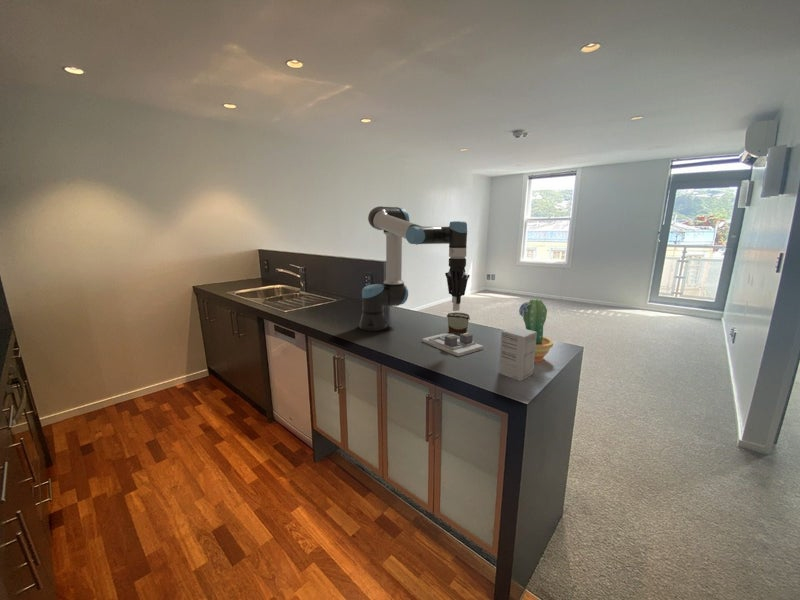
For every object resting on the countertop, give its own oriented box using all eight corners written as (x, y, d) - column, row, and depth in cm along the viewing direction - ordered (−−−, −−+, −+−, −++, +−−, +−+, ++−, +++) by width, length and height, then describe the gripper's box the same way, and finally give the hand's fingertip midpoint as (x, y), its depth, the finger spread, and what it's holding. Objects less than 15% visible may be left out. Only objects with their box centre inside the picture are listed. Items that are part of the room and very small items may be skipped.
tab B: (459, 342, 155) (460, 333, 154) (465, 341, 157) (466, 331, 157) (466, 345, 152) (466, 335, 151) (472, 343, 154) (472, 333, 153)
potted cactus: (520, 348, 153) (525, 295, 148) (556, 356, 143) (562, 299, 138) (507, 358, 141) (512, 300, 136) (545, 367, 131) (552, 306, 126)
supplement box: (511, 366, 132) (515, 325, 129) (533, 374, 125) (537, 331, 122) (497, 373, 126) (500, 330, 123) (520, 381, 119) (524, 336, 116)
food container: (471, 331, 178) (472, 313, 176) (468, 335, 172) (469, 316, 170) (449, 329, 183) (449, 311, 181) (445, 332, 177) (446, 313, 175)
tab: (444, 344, 152) (444, 335, 151) (450, 343, 154) (451, 333, 153) (450, 347, 149) (450, 337, 148) (456, 345, 151) (457, 335, 150)
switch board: (422, 341, 162) (422, 336, 161) (446, 335, 171) (446, 331, 170) (458, 356, 143) (458, 351, 142) (483, 349, 152) (483, 344, 151)
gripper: (440, 257, 149) (440, 309, 153) (462, 258, 138) (460, 314, 142) (453, 256, 153) (452, 307, 157) (474, 258, 142) (472, 312, 147)
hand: (456, 310), depth 150 cm, fingers closed
